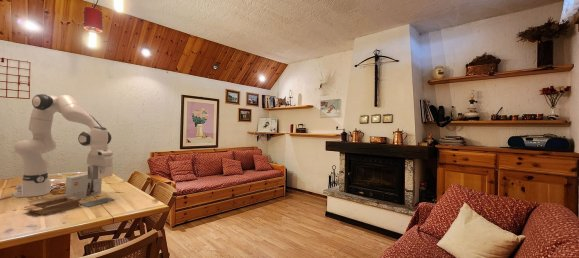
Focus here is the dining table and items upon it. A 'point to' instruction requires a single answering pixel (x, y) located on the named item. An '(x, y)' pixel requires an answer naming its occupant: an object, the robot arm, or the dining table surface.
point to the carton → (53, 204)
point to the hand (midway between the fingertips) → (98, 172)
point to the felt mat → (97, 202)
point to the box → (95, 172)
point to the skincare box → (82, 186)
